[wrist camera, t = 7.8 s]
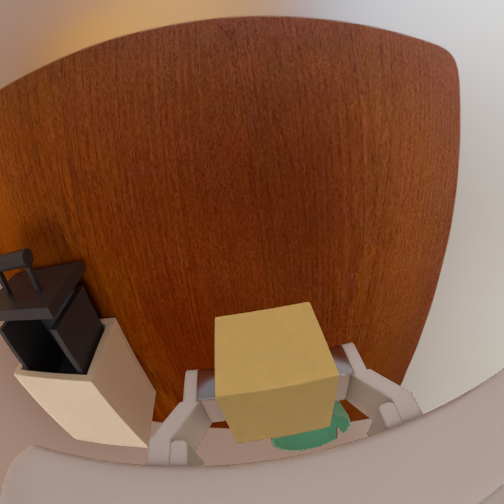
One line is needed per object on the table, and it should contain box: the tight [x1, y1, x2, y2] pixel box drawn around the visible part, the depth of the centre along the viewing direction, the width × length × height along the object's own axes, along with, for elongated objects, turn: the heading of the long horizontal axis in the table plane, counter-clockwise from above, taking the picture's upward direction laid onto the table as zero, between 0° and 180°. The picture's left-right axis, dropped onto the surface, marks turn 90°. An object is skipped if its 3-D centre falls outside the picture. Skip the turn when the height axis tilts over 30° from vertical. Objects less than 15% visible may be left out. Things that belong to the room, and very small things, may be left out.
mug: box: [271, 400, 350, 451], centre depth 32 cm, size 15×10×10 cm
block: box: [215, 302, 339, 443], centre depth 11 cm, size 4×4×4 cm
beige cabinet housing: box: [14, 318, 156, 448], centre depth 29 cm, size 15×12×10 cm
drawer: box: [0, 248, 105, 375], centre depth 24 cm, size 18×11×8 cm, turn 7°
